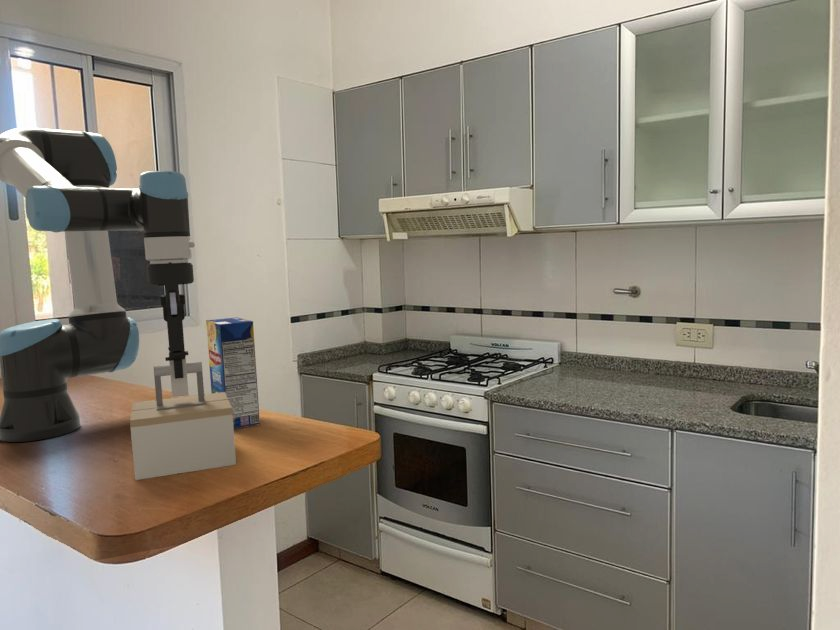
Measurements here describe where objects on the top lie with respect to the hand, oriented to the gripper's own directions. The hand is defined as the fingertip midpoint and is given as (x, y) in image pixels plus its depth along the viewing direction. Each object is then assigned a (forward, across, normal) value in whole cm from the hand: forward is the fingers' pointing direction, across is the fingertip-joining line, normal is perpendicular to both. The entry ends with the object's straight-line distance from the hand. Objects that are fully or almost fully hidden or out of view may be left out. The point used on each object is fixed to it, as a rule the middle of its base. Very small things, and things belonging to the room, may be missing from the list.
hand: (180, 394), depth 115 cm
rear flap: (+2, +2, 0) cm, 3 cm away
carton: (+12, -2, 0) cm, 12 cm away
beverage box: (+12, +20, -11) cm, 26 cm away
